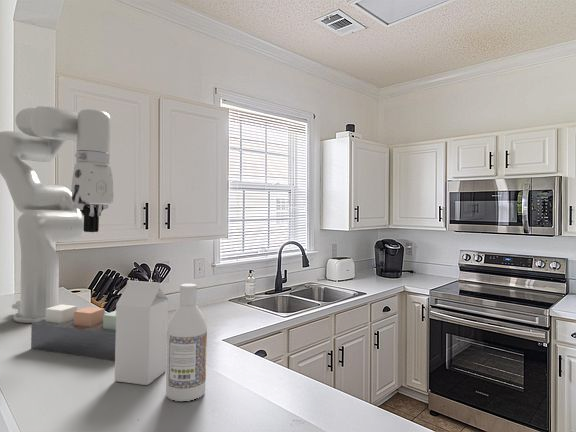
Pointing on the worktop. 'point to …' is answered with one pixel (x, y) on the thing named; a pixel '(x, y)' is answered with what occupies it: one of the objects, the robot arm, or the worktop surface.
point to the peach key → (89, 316)
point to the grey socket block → (74, 339)
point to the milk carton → (141, 333)
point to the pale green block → (109, 320)
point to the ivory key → (60, 313)
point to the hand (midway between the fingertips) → (90, 231)
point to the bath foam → (186, 349)
